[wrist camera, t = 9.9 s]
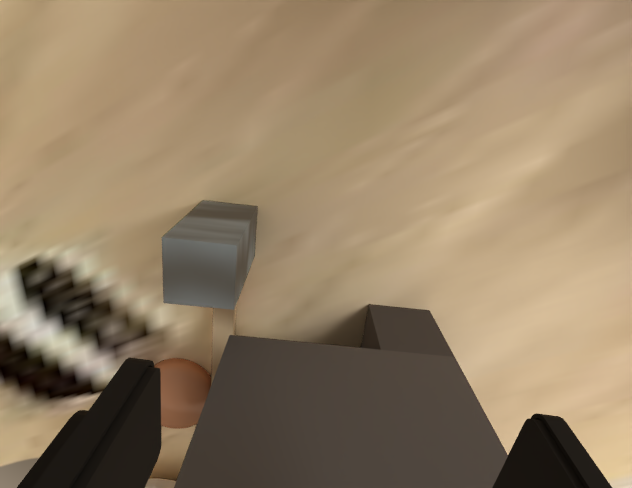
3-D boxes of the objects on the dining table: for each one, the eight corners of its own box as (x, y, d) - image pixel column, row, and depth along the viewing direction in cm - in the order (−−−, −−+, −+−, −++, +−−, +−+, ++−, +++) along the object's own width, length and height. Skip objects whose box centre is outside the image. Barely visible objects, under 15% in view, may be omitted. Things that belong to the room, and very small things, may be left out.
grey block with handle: (202, 200, 28) (161, 237, 20) (257, 206, 28) (236, 245, 21) (200, 437, 36) (170, 525, 28) (242, 440, 36) (224, 529, 29)
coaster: (144, 354, 33) (134, 369, 31) (214, 359, 33) (208, 375, 31) (149, 408, 35) (139, 425, 33) (214, 413, 35) (209, 430, 33)
